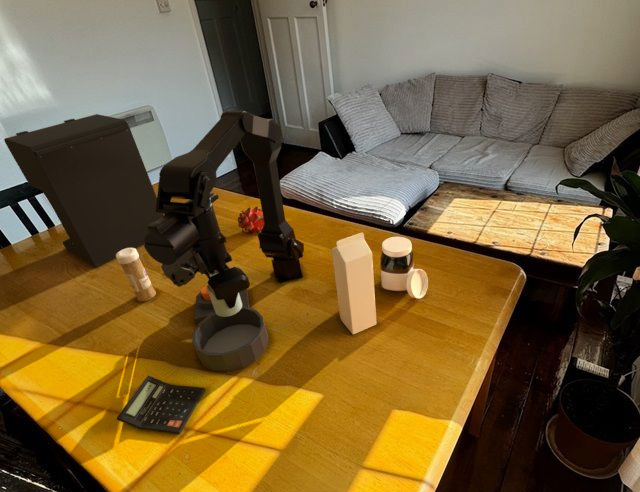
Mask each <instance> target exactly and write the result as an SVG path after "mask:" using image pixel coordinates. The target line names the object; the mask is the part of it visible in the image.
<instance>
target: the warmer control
mask: <svg viewBox="0 0 640 492" xmlns="http://www.w3.org/2000/svg"><path fill="white" fill-rule="evenodd" d="M239 295H240V298H241V302H242V307H249V308H251V307H250V301H249V300H250V299H249V289H248V288H247V289H245V290H243V291H241V292H239ZM213 313H215V310H214V307H213V304H212V302H211V300H204V299H203V296H202V293H201V290H200V291H199V292H198V293H197V295H195V305H194V321H195V324H196V326H198V324H199V323H200V322H201V321H203V320H204V319H205V318H206V317H207V316H209V315H210V314H213Z"/></svg>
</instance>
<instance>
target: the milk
mask: <svg viewBox="0 0 640 492" xmlns="http://www.w3.org/2000/svg"><path fill="white" fill-rule="evenodd" d="M335 245H336V246H335V247H333V248H331V258H332V264H333V273H334V280H335V288H336V295H337V303H338V312H339V318H340V321H341V322H342V323H343V324H344V325H345V327H346V328H347V330H349V332H350V333H351V334H352V336H354V335H356V334H358V333H360V332H363V331H365V330H367V329H369V328H372V327H373V326H377V310H376V297H375V296H376V294H375V280H374V277H375V276H374V261H373V252H372V250H371V248H370V246H369V245H368V243H367V241H366V239H365V234H364V232H359V233H356V234H353V235H351V236H348V237H344V238H341V239H338V240H337V241H335Z"/></svg>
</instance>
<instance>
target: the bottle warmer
mask: <svg viewBox="0 0 640 492" xmlns="http://www.w3.org/2000/svg"><path fill="white" fill-rule="evenodd" d="M249 307H250V306H249ZM249 307H242V308H241V310H240V311H239V312H238V313H236V314H234V315H232V316H228V317H221V316H218V315H217V314H216V312H215V313H213V314H210V315H209V316H207V317H206V318H205V319H204V320H203V321H201V322H200V323H199V324H198V325H196V327H195V328H194V330H193V332H192V339H191V340H192V342H191V343H192V346H193V348H194V350H195V353H196V355H197V357H198V359H199V361H200V363H201V364H202V365H203V367H204V368H206V369H208V370H210V371H213V372H216V373H217V372H218V373H229V372H230V373H231V372H234V371H238V370H241V369H242V370H243V369H244V368H246V367H247V366H250V365H251V364H253V363H254V362H256V361H258V359H259V358H260V357H261V356H262V355H263V354H264V353H265V352H266V349H267V346H268V344H269V334H268V330H267V325H266V323H265V320H264V317H263V315H262V314H261V313H260V312H259V311H258V310H257V309H255V308H251V307H250V308H249Z"/></svg>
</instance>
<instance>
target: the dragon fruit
mask: <svg viewBox="0 0 640 492" xmlns="http://www.w3.org/2000/svg"><path fill="white" fill-rule="evenodd" d="M237 223H238V227H239V228H241V232H242V233H250V234H253V233H254V232H256V233H258V234H259V233H260V232H261V230H262V228H263V226H264V218H263V213H262V208H261V207H260V206H258V205H257V206H255V207H254V208H252V206H250V207H247V208H246V210H245V209H242V210H241V212H240V213H239V215H238V217H237Z"/></svg>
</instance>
